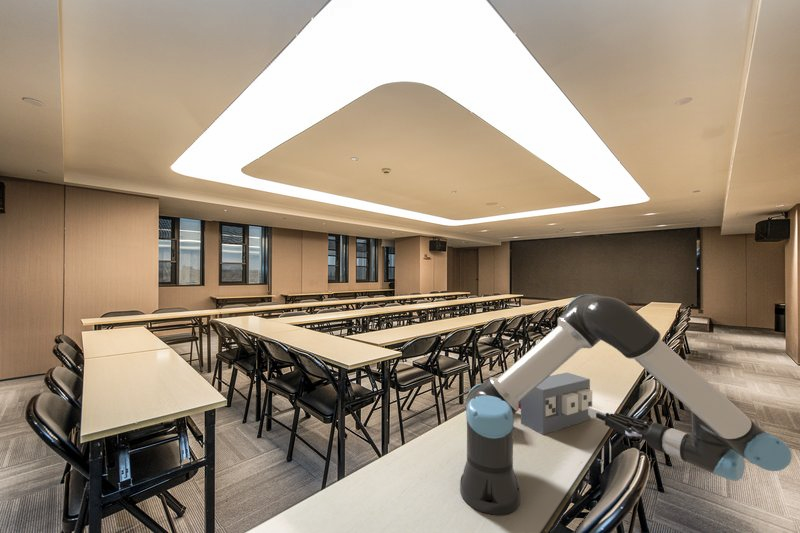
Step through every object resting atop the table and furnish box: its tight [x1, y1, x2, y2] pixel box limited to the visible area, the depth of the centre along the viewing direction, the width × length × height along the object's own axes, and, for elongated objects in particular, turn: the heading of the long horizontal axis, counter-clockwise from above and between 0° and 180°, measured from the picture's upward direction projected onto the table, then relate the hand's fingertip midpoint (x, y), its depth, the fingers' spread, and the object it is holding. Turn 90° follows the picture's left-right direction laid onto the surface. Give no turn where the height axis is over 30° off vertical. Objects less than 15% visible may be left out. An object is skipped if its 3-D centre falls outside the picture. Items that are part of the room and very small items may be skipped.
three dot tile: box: [546, 396, 556, 416], centre depth 121 cm, size 7×3×7 cm, turn 118°
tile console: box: [520, 372, 591, 436], centre depth 128 cm, size 28×10×16 cm, turn 118°
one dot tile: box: [562, 392, 578, 415], centre depth 123 cm, size 7×3×7 cm, turn 118°
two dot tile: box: [577, 389, 593, 411], centre depth 127 cm, size 7×3×7 cm, turn 118°
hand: (589, 410), depth 116 cm, fingers closed
